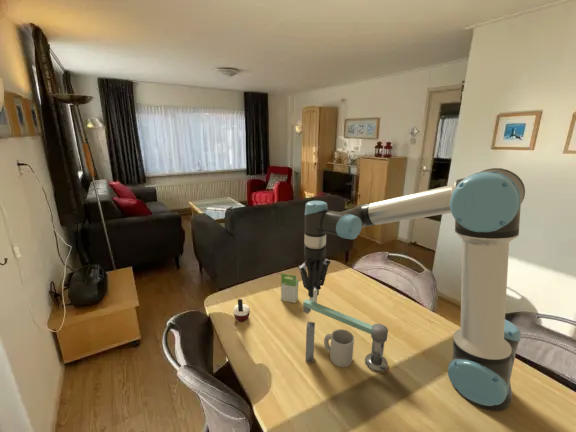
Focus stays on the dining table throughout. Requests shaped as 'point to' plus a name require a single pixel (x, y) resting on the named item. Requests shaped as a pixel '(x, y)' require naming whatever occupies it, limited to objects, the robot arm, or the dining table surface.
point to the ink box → (289, 288)
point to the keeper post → (310, 341)
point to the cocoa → (241, 311)
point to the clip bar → (349, 320)
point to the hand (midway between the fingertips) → (313, 303)
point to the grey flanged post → (376, 358)
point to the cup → (340, 347)
